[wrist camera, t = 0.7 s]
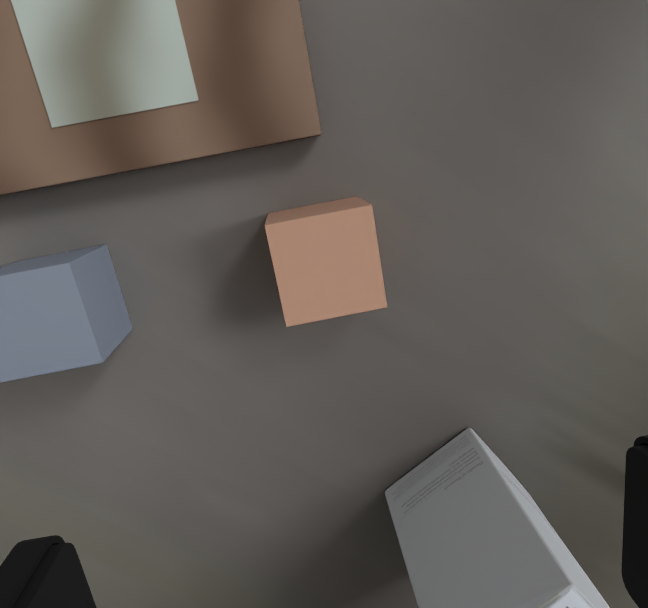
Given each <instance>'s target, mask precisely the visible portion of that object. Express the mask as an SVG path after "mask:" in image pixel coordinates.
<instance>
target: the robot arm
mask: <svg viewBox="0 0 648 608" xmlns="http://www.w3.org/2000/svg"><path fill="white" fill-rule="evenodd" d="M622 578H623V582H624V584H625V587H626V589H627V591H628V593H629V595H630V596H631V598H632V599H633V600H634V602H635V603H636V604H637V605H638V607H639V608H648V435H647V436H641V437H639V438H637V439H636V440H635V442H634V446H633V447H631V448H629V449H628V451H627V454H626V472H625V498H624V524H623V550H622ZM0 608H96V605H95V602H94V600H93V597H92V594H91V591H90V588H89V586H88V583H87V580H86V577H85V574H84V572H83V569H82V566H81V563H80V560H79V558H78V555H77V552H76V549H75V547H74V545H73V544H71V543H65V542H64V540H63V539H62V538H61V537H60V536H56V535H54V536H48V537H42V538H36V539H30V540H24V541H21V542H19V543H17V544H16V545H15V547H14V548H13V549H12V550H11V552H10V553H9V555H8V556H7V557H6V559H5V560H4V562H3V563H2V565H1V566H0Z"/></svg>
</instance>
